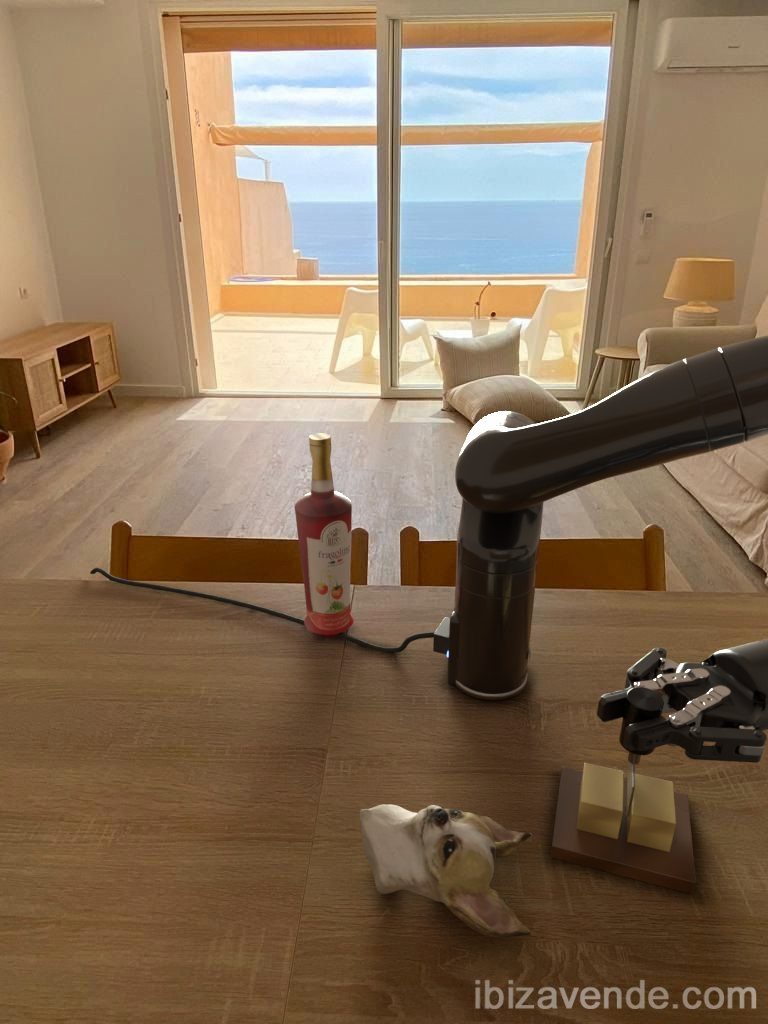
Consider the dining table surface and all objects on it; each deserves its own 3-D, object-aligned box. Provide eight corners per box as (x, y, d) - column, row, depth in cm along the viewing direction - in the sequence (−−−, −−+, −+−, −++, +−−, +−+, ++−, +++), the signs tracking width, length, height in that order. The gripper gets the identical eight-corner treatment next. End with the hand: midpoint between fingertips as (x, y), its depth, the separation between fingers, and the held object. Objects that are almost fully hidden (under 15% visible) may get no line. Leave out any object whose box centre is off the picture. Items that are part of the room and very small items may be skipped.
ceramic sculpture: (373, 751, 63) (541, 782, 61) (369, 818, 67) (527, 850, 64) (344, 850, 54) (541, 893, 51) (342, 922, 57) (525, 965, 55)
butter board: (550, 857, 63) (555, 817, 61) (560, 777, 72) (565, 740, 69) (692, 894, 60) (703, 853, 57) (685, 805, 68) (694, 767, 66)
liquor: (316, 649, 92) (304, 450, 80) (294, 623, 98) (280, 433, 86) (365, 633, 95) (360, 439, 84) (341, 608, 101) (333, 423, 89)
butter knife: (610, 812, 61) (626, 719, 57) (612, 761, 67) (627, 672, 62) (646, 821, 60) (665, 726, 56) (645, 768, 66) (662, 678, 61)
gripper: (722, 607, 68) (571, 642, 63) (851, 696, 56) (677, 747, 51) (708, 669, 72) (563, 707, 67) (828, 765, 59) (661, 820, 54)
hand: (613, 724), depth 59 cm, fingers closed on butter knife, 3 cm apart
